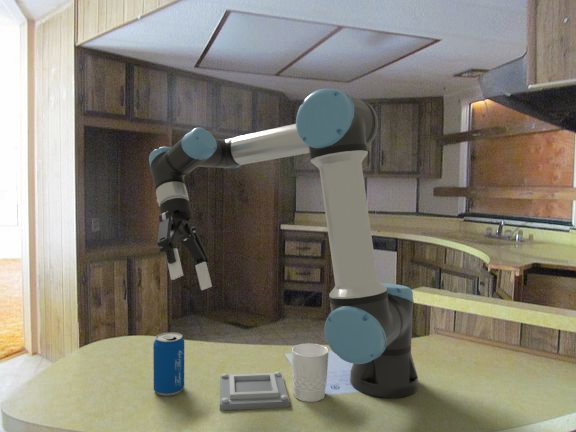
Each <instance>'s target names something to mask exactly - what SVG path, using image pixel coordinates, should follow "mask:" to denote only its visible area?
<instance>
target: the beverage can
mask: <svg viewBox="0 0 576 432" xmlns="http://www.w3.org/2000/svg"><path fill="white" fill-rule="evenodd" d="M152 348H153V356H152V357H153V391H154V392H156V393H157V394H158V395H159V396H165V397H167V396H168V397H169V396H175V395H177V394H179V393H180V392H181V391H182V390H184V388H185V340H184V338H183V334H181V333H179V332H172V331H171V332H162V333H159V334H157V335H155V340H154V342H153V347H152Z"/></svg>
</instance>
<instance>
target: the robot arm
mask: <svg viewBox="0 0 576 432" xmlns="http://www.w3.org/2000/svg"><path fill="white" fill-rule="evenodd" d="M378 120H379V119H378V116H377V113H376V110H375V109H374V108H373V106H372V105H371V104H369V103H368V102H367V101H365V100H364V99H361V98H358V97H356V96H354V95H350V94H348V93H347V92H345V91H344V90H342V89H335V88H320V89H317V90H315V91H313V92H311V93H309V95H308V96H307V97H305V98H304V100H303V102H302V104H300V106H299V107H298V110H297V113H296V119H295V123H293V124H289V125H283V126H279V127H275V128H271V129H270V128H269V129H266V130H262V131H256V132H251V133H246V134H244V135H238V136H234V137H231V138H230V137H229V138H226V139H225V138H224V139H222V138H221V139H220V138H215V137H214V135H213V134H212V133H211V132H210V131H209V130H206V129H205V127H199V126H198V127H195V128H193V129H192V130H191V131H189V132H187V133H186V134H185V135H184V136H183V137H182V138H181V139H180V140H179V141H177V142H176V143H175V144H174V145H173V146H172V147H170V146H160V147H158V148H157V149H156V148H155V149H154V150H152V151H151V152H150V154H149V156H148V161H149V171H150V173H151V178H152V183H153V184H154V185H153V186H154V191H155V195H156V198H157V199H156V203H158V207H159V209H158V210H159V214H158V219H159V225H158V226H159V227H158V234H157V242H156V243H157V246H158V247H159V252H160V253H161V254H162V253H164V252H165V257H166V262H167V267H168V271H169V276H170V280H171V281H174V280H176V279H179V278H181V277H184V272H183V266H182V263H181V259H180V255H179V250H178V248H176V244H177V241H178V239H179V240H180V242H181V244H183V245H185V247H186V249H187V250H188V252H189V254H190V255H191V257H192V258H193V261H194V263H195V270H196V275H197V279H198V283H199V287H200V290H201V291H204V290H207V289H208V288H209V289H210V288H212V287H213V285H212V281H211V277H210V276H211V275H210V273H209V269H208V265H207V264H208V263H210V262H211V260H210V258H209V255H208V254H207V251H206V249H205V247H204V244H203V242H202V240H201V238H200V236H199V232H198V229H197V226H191V224H190V223H189V220H190V219H191V217H192V216H193V210H192V206H191V202H190V197H189V194H188V190H187V186H186V182H185V177H186V176H187V175H189V174H190V173H192V171H194V170H195V169H196V168H200V167H201V168H202V167H203V168H218V169H219V168H220V169H221V168H223V169H226V170H227V169H228V170H229V169H230V170H231V169H238V168H240V167H242V165H247V164H249V165H250V164H253V163H259V162H265V161H271V160H276V159H282V158H289V157H294V156H299V155H305V154H309V158H310V160H309V161H310V163H311V164H312V165H314V166H315V167H316V168H317V169H318V170H319V174H320V184H321V189H322V190H321V192H322V197H323V204H324V213H325V221H326V226H327V227H326V228H327V234H328V243H329V251H330V255H331V264H332V271H333V272H332V273H333V277H334V287H333V288H332V290H331V291H330V292H329V294H328V295H329V296H328V297H329V305H330V311H331V312H330V313H329V314H328V316H327V318H326V320H325V322H324V326H323V328H324V330H323V331H324V332H323V333H324V336H325V340H326V343H327V344H328V347H329V348H330V350H331V351H332V352H333V353H334V354H335V355H337V356H338V358H340V359H341V360H342V361H345V362H347V363H350V364H352V367H351V368H350V378H349V379H350V380H349V381H350V384H351V385H352V386H353V387H354V388H355V389H356V390H357V391H359V392H362V393H363V394H366V395H370V396H372V397H378V398H387V399H388V398H391V399H397V398H399V399H400V398H405V397H409V396H411V395H413V394H414V393H416V392H417V391H418V388H419V377H418V373H417V370H416V365H415V363H414V359H413V355H412V338H413V336H412V335H413V313H414V312H413V310H414V303H415V301H414V292H413V290H412V288H410V287H409V286H406V285H402V284H396V283H388V282H380V281H379V279H378V272H377V266H376V265H377V264H376V258H375V252H374V244H373V238H372V237H373V236H372V231H371V230H372V229H371V221H370V215H369V207H368V201H367V194H366V193H367V192H366V188H365V187H366V185H365V179H364V172H363V164H362V163H363V161H364V160H365V158H366V157H367V155H368V154H369V153H368V152H369V151H368V146H369V145H370V144H371V143H372V142H373V141H374V139H375V137H376V135H377V132H378V128H379V121H378Z"/></svg>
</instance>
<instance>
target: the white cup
mask: <svg viewBox="0 0 576 432" xmlns="http://www.w3.org/2000/svg"><path fill="white" fill-rule="evenodd" d="M328 366H329V348H328V347H327V346H325V345H321V344H318V343H312V342H311V343H300V344H296V345H294V346H293V347H292V348H291V367H292V369H291V370H292V371H291V372H292V383H293V384H292V386H293V388H292V389H293V391H292V393H293V396H294V397H295V398H296V399H297V400H299V401H303V402H307V403H315V402H318V401H322V399H324V398H325V396H326V395H325V394H326V385H327V379H328Z"/></svg>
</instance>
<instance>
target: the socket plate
mask: <svg viewBox="0 0 576 432" xmlns="http://www.w3.org/2000/svg"><path fill="white" fill-rule="evenodd" d="M219 382H220V383H219V385H220V386H219V387H220V388H219V411H236V410H255V409H257V410H258V409H259V410H260V409H277V408H279V409H280V408H290V398H289V395H288V391H287V389H286V385H285V381H284V378H283V375H282V373H281V371H274V372H267V373H266V372H264V373H263V372H262V373H261V372H260V373H235V374H229V373H222V374H221V375H220V380H219Z"/></svg>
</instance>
